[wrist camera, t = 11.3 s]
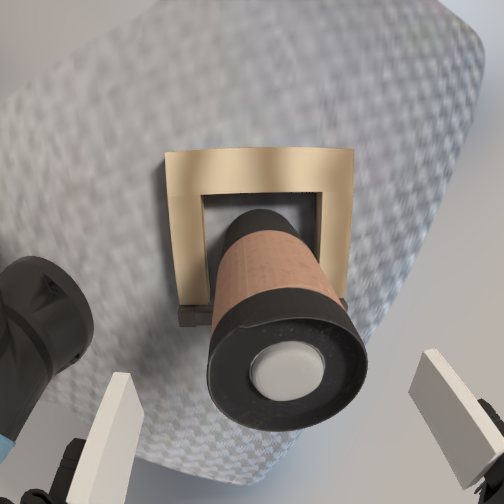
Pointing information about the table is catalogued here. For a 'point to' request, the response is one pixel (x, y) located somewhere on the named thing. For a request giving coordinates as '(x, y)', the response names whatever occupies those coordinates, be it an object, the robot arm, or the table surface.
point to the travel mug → (279, 331)
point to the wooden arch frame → (255, 181)
